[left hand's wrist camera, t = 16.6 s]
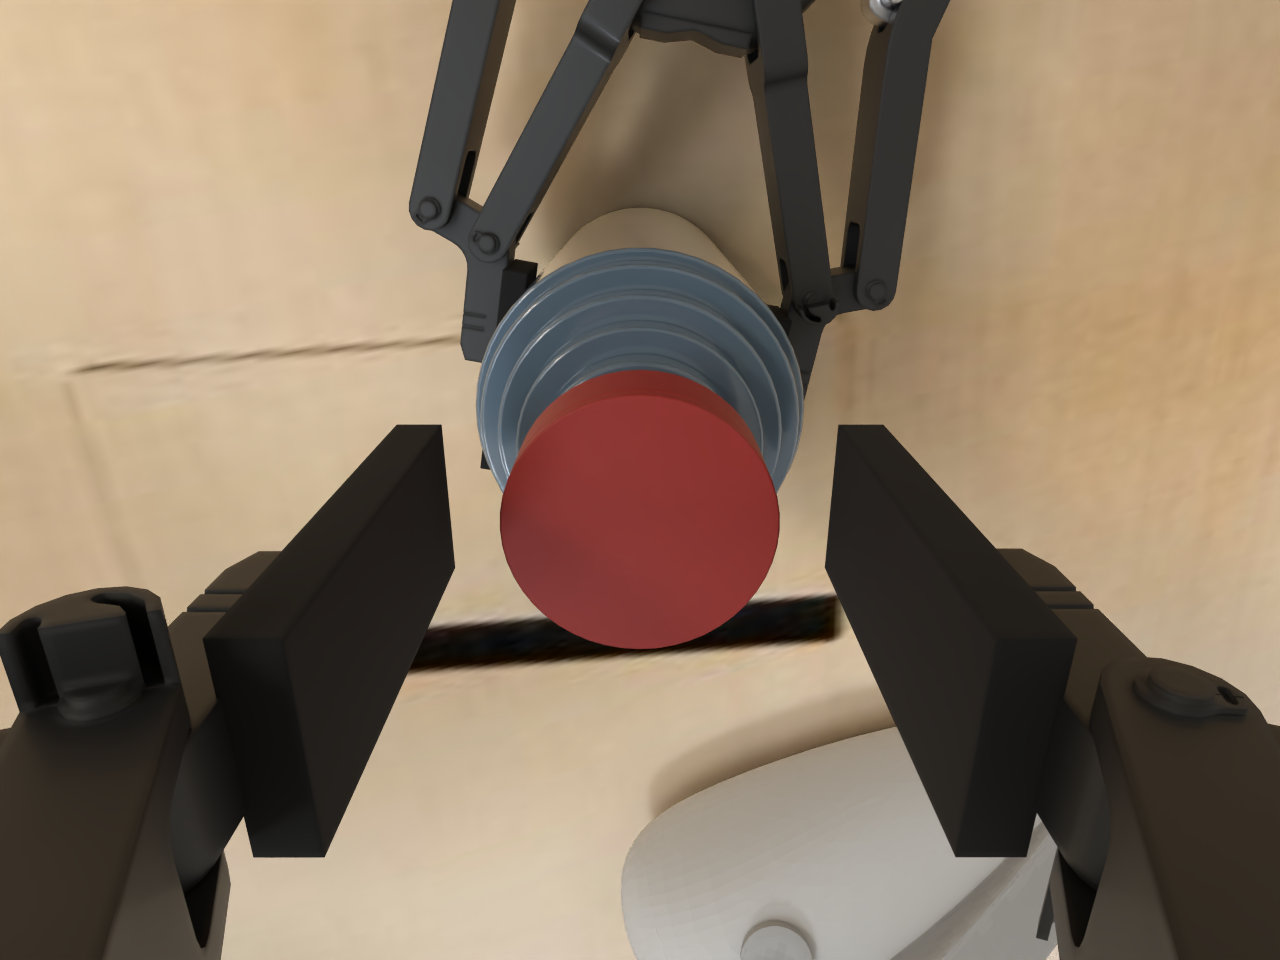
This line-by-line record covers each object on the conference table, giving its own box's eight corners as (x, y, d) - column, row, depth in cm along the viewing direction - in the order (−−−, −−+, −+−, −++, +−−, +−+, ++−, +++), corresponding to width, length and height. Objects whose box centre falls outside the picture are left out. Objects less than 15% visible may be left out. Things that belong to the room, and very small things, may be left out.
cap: (544, 338, 13) (532, 361, 12) (799, 407, 14) (820, 437, 12) (491, 569, 15) (475, 616, 13) (722, 624, 15) (731, 674, 14)
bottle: (768, 264, 32) (959, 422, 13) (678, 427, 34) (727, 762, 15) (596, 171, 30) (523, 193, 11) (515, 347, 33) (347, 605, 14)
